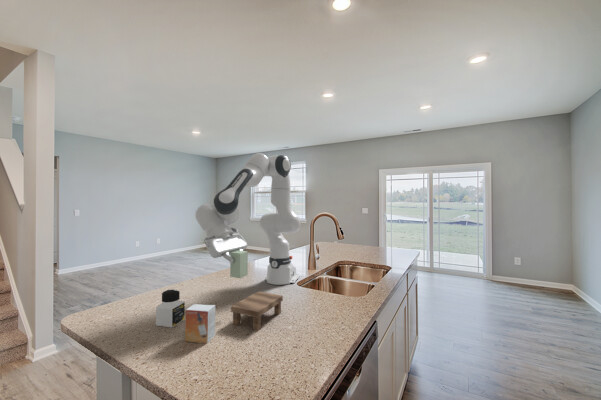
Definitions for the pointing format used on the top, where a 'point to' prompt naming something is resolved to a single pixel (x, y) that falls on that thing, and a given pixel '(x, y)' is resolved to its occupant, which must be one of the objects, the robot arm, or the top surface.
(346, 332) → the top surface
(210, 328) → the small box
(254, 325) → the stool
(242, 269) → the green block
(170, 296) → the medicine bottle
